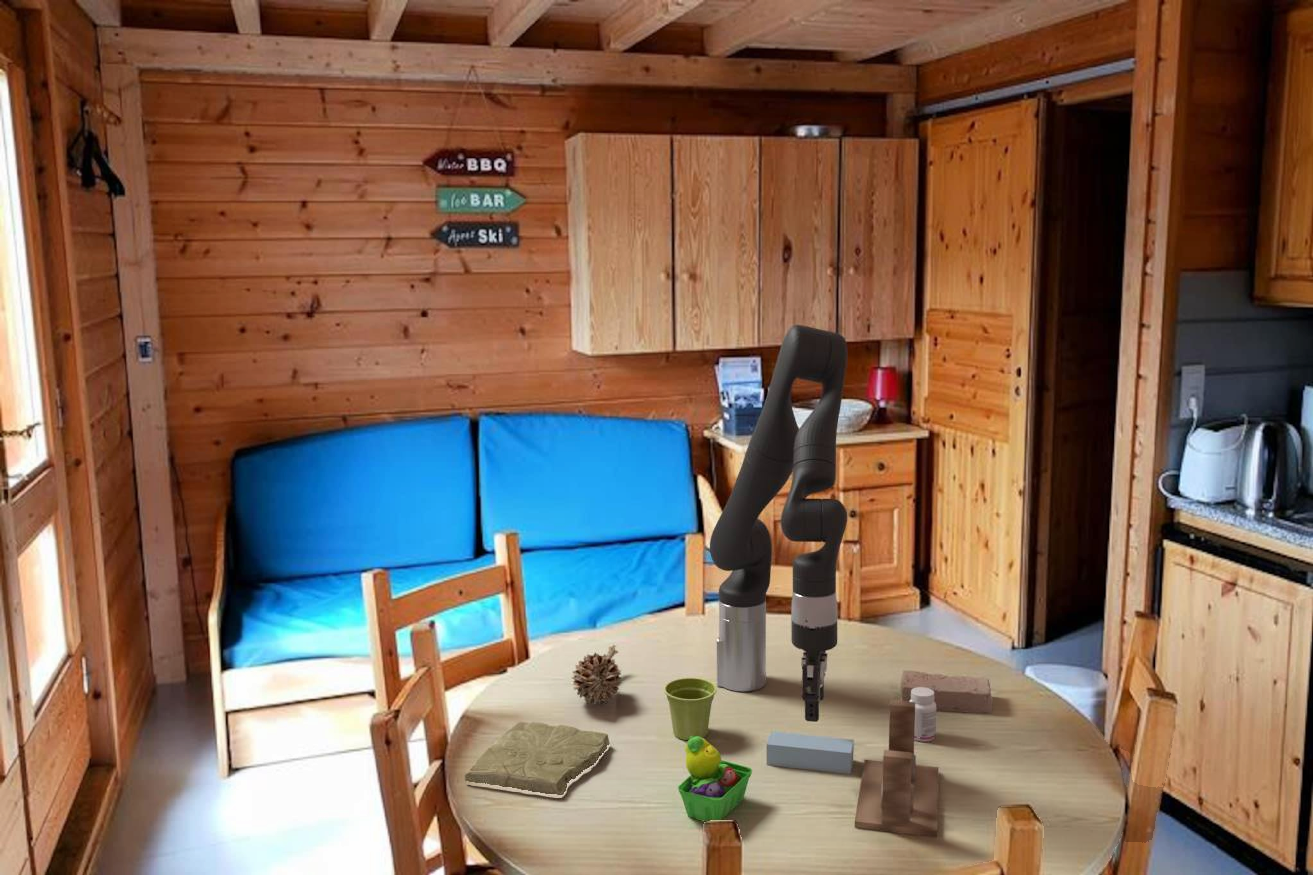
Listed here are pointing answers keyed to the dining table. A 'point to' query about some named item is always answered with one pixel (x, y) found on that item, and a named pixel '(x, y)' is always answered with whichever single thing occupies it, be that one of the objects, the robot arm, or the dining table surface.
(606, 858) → the dining table surface
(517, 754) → the decorative tile
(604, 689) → the pine cone
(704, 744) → the fruit basket
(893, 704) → the peg stand
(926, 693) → the pill bottle
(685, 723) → the plant pot
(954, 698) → the brick
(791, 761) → the block
